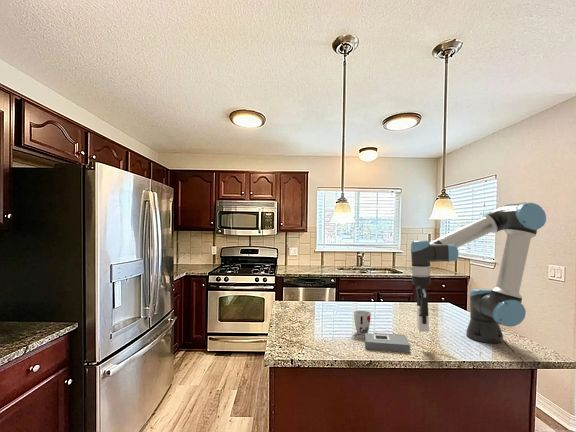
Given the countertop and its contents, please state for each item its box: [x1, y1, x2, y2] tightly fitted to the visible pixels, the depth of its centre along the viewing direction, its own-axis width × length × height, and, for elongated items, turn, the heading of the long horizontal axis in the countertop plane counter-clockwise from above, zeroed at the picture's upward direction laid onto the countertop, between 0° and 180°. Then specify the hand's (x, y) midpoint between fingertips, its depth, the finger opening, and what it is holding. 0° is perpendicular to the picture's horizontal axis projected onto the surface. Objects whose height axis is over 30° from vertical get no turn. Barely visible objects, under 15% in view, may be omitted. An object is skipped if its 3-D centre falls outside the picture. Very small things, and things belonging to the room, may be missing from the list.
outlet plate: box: [364, 332, 411, 353], centre depth 146 cm, size 18×12×3 cm, turn 79°
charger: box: [416, 305, 430, 333], centre depth 144 cm, size 4×4×10 cm
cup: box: [353, 310, 372, 336], centre depth 164 cm, size 8×8×10 cm
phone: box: [374, 332, 406, 336], centre depth 157 cm, size 14×7×1 cm, turn 79°
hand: (423, 329), depth 144 cm, fingers closed on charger, 4 cm apart
